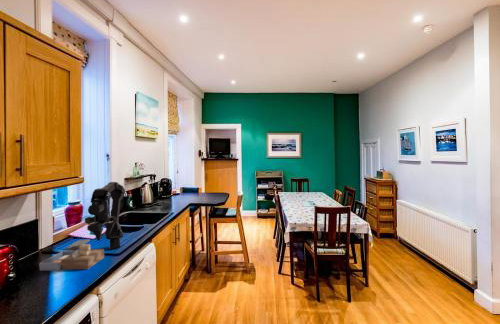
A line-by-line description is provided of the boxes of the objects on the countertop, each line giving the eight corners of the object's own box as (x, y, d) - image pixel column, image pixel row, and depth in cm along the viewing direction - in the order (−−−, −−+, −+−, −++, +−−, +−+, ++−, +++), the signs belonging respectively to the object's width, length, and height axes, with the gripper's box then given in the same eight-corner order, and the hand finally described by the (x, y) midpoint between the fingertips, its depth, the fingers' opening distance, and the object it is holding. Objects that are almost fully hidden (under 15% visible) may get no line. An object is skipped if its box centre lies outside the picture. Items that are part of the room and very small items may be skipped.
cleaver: (68, 257, 147) (68, 253, 146) (49, 259, 145) (49, 255, 145) (91, 240, 176) (91, 237, 176) (76, 241, 174) (76, 238, 174)
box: (63, 257, 146) (62, 250, 146) (81, 257, 146) (80, 250, 145) (39, 270, 130) (39, 263, 130) (59, 270, 130) (59, 262, 129)
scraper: (87, 249, 143) (87, 241, 143) (95, 249, 143) (95, 241, 143) (72, 259, 131) (71, 249, 131) (81, 258, 131) (80, 249, 131)
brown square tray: (80, 257, 145) (80, 249, 144) (104, 257, 144) (103, 248, 144) (61, 269, 131) (61, 260, 130) (88, 269, 130) (87, 259, 130)
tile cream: (72, 255, 143) (72, 258, 143) (65, 255, 143) (65, 258, 143) (66, 258, 138) (67, 262, 138) (58, 258, 138) (59, 262, 138)
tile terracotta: (64, 259, 137) (64, 263, 137) (56, 259, 137) (56, 263, 137) (57, 263, 132) (57, 267, 132) (49, 263, 132) (49, 267, 132)
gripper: (98, 207, 151) (100, 232, 152) (76, 215, 133) (78, 244, 134) (116, 206, 151) (118, 232, 152) (97, 214, 133) (98, 243, 133)
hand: (103, 237), depth 143 cm, fingers open, 9 cm apart
